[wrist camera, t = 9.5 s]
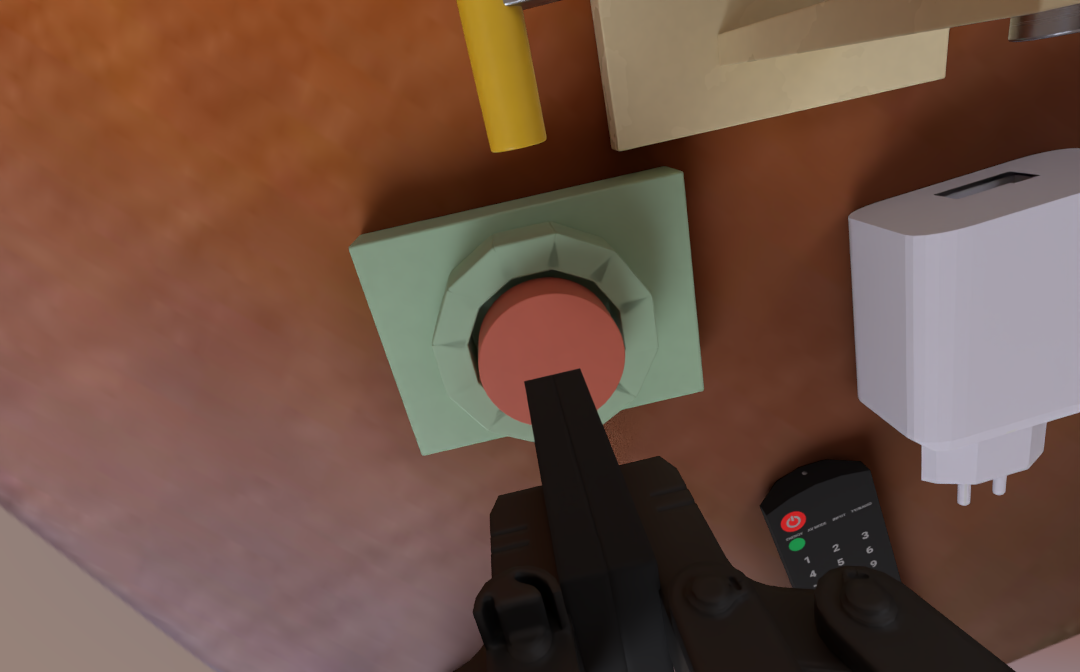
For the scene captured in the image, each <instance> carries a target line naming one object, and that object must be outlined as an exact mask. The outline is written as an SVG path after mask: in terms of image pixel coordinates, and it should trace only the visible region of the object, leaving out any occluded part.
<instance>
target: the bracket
mask: <svg viewBox="0 0 1080 672" xmlns="http://www.w3.org/2000/svg"><path fill="white" fill-rule="evenodd" d="M590 2H591V9H592V16H593V23H594V30H595V37H596V43H597V50H598V57H599V64H600V71H601V78H602V85H603V92H604V99H605V106H606V113H607V120H608V127H609V134H610V141H611V148H612V149H614V150H617V151H625V150H629V149H633V148H638V147H642V146H647V145H651V144H655V143H660V142H664V141H669V140H673V139H678V138H682V137H686V136H691V135H695V134H700V133H704V132H709V131H713V130H717V129H722V128H726V127H731V126H735V125H740V124H744V123H748V122H753V121H757V120H762V119H766V118H771V117H775V116H779V115H784V114H788V113H793V112H797V111H802V110H806V109H810V108H815V107H819V106H824V105H828V104H832V103H837V102H841V101H846V100H850V99H855V98H859V97H863V96H868V95H872V94H877V93H881V92H886V91H890V90H894V89H899V88H903V87H908V86H912V85H917V84H921V83H925V82H930V81H934V80H939V79H943V78H945V73H946V61H947V50H948V38H949V28H951V27H956V26H962V25H968V24H974V23H980V22H986V21H992V20H998V19H1003V18H1009V17H1011V20H1010V27H1009V35H1008V40H1009V42H1022V41H1030V40H1037V39H1044V38H1050V37H1056V36H1061V35H1067V34H1072V33H1078V32H1080V0H590Z"/></svg>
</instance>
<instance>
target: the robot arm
mask: <svg viewBox="0 0 1080 672" xmlns="http://www.w3.org/2000/svg"><path fill="white" fill-rule="evenodd" d="M524 384H525V389H526V395H527V401H528V407H529V412H530V418H531V424H532V430H533V435H534V441H535V447H536V453H537V458H538V464H539V470H540V475H541V481H542V486H537V487H533V488H529V489H525V490H521V491H516V492H512V493H508V494H504V495H500V496H498V498H497V500H496V503H495V505H494V507H493V509H492V511H491V513H490V534H491V553H492V554H491V567H492V578H491V579H490V580H489V581H488V582H486V583H485V584H484V586H483V588H482V589H481V591H480V592H479V594H478V595H477V597H476V599H475V604H474V608H473V615H474V618H475V621H476V623H477V626H478V629H479V632H480V634H481V637H482V640H483V643H484V645H483V646H482V648H481V649H480V650H479V652H478V653H477V654H476V655H475V656H474V657H473V658H472V659H471V660H470V661H468V662H467V663H466V664H464V665H463V666H461V667H460V668H459V669H457V670H455V671H453V672H674V669H675V672H1015V671H1014V670H1013V669H1012V668H1010V667H1009V666H1008V665H1006V664H1005V663H1004V662H1003V661H1001V660H1000V659H999V658H998V657H996V656H995V655H994V654H992V653H991V652H990V651H989V650H987V649H986V648H985V647H983V646H982V645H981V644H980V643H978V642H977V641H976V640H975V639H973V638H972V637H971V636H969V635H968V634H967V633H966V632H964V631H963V630H962V629H960V628H959V627H958V626H957V625H955V624H954V623H953V622H952V621H950V620H949V619H948V618H946V617H945V616H944V615H943V614H941V613H940V612H939V611H937V610H936V609H935V608H934V607H932V606H931V605H930V604H929V603H927V602H926V601H925V600H923V599H922V598H921V597H920V596H918V595H917V594H916V593H914V592H913V591H912V590H911V589H909V588H908V587H907V586H905V585H904V584H903V583H901V582H900V581H898V580H896V579H895V578H893V577H891V576H890V575H888V574H886V573H884V572H881V571H878V570H875V569H871V568H868V567H865V566H842V567H838V568H835V569H831V570H829V571H828V572H826V573H825V574H824V575H823V576H822V577H821V578H819V579H818V582H817V586H816V589H803V588H783V587H776V586H769V585H765V584H762V583H759V582H756V581H754V580H752V579H750V578H748V577H746V576H745V575H744V574H743V573H742V572H741V571H739V570H737V569H735V568H734V567H733V566H732V565H731V563H730V562H729V561H728V559H727V558H726V556H725V555H724V553H723V551H722V549H721V547H720V546H719V544H718V542H717V540H716V538H715V537H714V535H713V533H712V531H711V529H710V528H709V526H708V524H707V522H706V520H705V519H704V517H703V515H702V513H701V511H700V510H699V508H698V506H697V504H696V503H695V502H694V499H693V497H692V495H691V493H690V492H689V490H688V489H687V487H686V484H685V483H684V481H683V479H682V477H681V475H680V474H679V472H678V470H677V468H675V467H674V466H673V465H671V464H670V463H668V462H667V461H666V460H664V459H663V458H661V457H660V456H657V457H652V458H648V459H644V460H640V461H636V462H631V463H627V464H623V465H618V462H617V460H616V457H615V455H614V452H613V449H612V447H611V444H610V442H609V439H608V437H607V434H606V432H605V429H604V427H603V424H602V422H601V419H600V417H599V414H598V412H597V409H596V407H595V404H594V402H593V399H592V397H591V394H590V392H589V389H588V387H587V384H586V382H585V379H584V377H583V374H582V372H581V369H580V368H579V369H574V370H570V371H566V372H562V373H557V374H553V375H549V376H544V377H540V378H536V379H532V380H527V381H524ZM673 666H674V668H673Z"/></svg>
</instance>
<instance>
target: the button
mask: <svg viewBox="0 0 1080 672" xmlns="http://www.w3.org/2000/svg"><path fill="white" fill-rule="evenodd" d="M624 365H625V346H624V342H623V338H622V335H621V333H620V330H619V328H618V327H617V325H616V323H615V321H614V320H613V318H612V317H611V315H610V313H609V312H608V310H607V309H606V307H605V305H604V304H603V303H602V302H601V300H600V299H599V298H598V297H597V296H596V295H595V294H594V293H593V292H592V291H590V290H589V289H587V288H586V287H584V286H582V285H580V284H579V283H576V282H573V281H571V280H567V279H562V278H554V277H545V278H537V279H532V280H528V281H525V282H522V283H520V284H518V285H515V286H514V287H512V288H510V289H509V290H507V291H506V292H505V293H503V294H502V295H501V296H500V297H499V298H498V299H497V300H496V301H495V302H494V303H493V304H492V306H491V307H490V308H489V310H488V311H487V313H486V315H485V317H484V319H483V322H482V324H481V328H480V332H479V341H478V368H479V375H480V380H481V383H482V385H483V388H484V390H485V392H486V394H487V396H488V397H489V398H490V400H491V401H492V402H493V403H494V404H495V405H496V406H497V407H498V409H500V410H501V411H502V412H504V413H505V414H506V415H508V416H510V417H511V418H513V419H515V420H517V421H520V422H522V423H526V424H529V425H532V424H531V418H530V412H529V407H528V401H527V395H526V389H525V384H524V381H527V380H532V379H536V378H540V377H544V376H549V375H553V374H557V373H562V372H566V371H570V370H574V369H579V368H580V369H581V372H582V374H583V377H584V379H585V382H586V384H587V387H588V389H589V392H590V394H591V397H592V399H593V402H594V404H595V407H596V409H597V410H598V409H599V408H600V407H601V406H602V405H604V404H605V403H606V402H607V400H608V399H609V398H610V397H611V396H612V394H613V393H614V391H615V390H616V388H617V386H618V384H619V382H620V380H621V377H622V374H623V370H624Z"/></svg>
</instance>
